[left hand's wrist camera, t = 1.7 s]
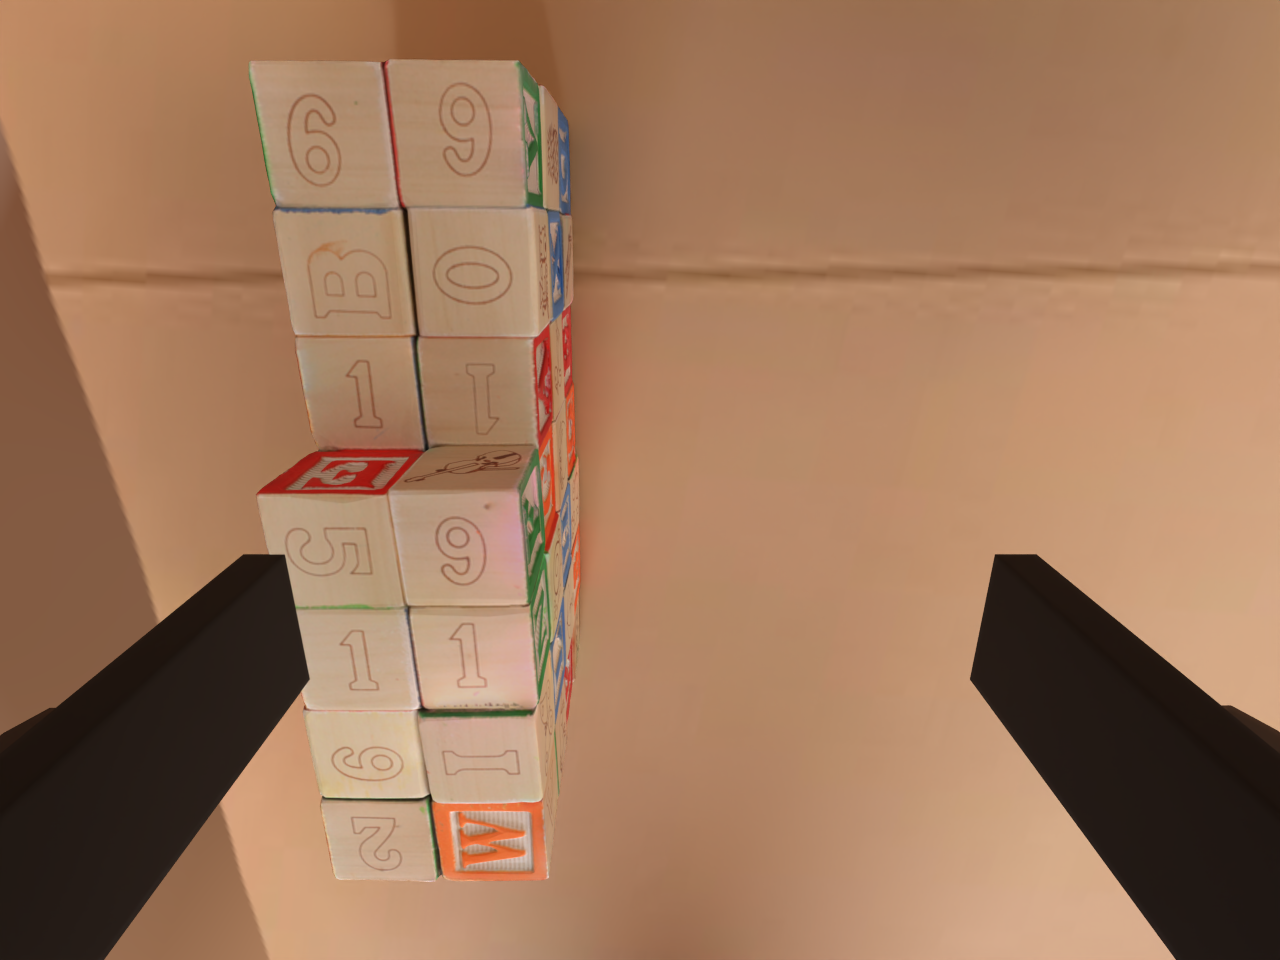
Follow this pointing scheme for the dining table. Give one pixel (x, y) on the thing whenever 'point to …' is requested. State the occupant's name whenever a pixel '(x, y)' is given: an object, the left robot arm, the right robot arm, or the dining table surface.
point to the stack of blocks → (429, 455)
